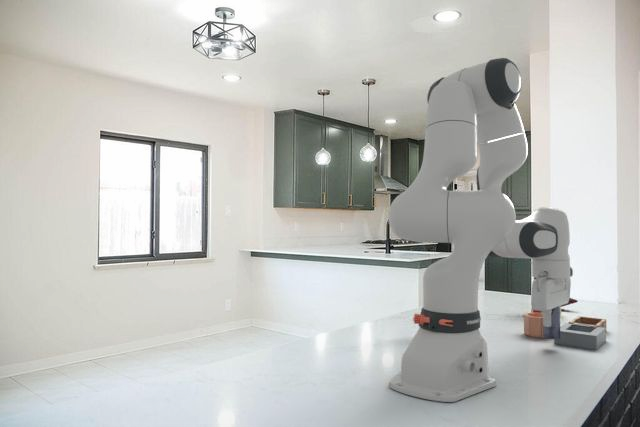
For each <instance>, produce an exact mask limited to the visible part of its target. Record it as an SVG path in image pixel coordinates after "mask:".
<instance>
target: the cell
mask: <svg viewBox="0 0 640 427" xmlns="http://www.w3.org/2000/svg"><path fill="white" fill-rule="evenodd" d="M551 319H552V326H551V327H546V326H544V325H543V337H544V338H543V339H548V340H554V339H560V326H561V316H560V306H559V307H556V308H554V309H552V313H551Z"/></svg>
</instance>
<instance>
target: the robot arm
mask: <svg viewBox="0 0 640 427" xmlns="http://www.w3.org/2000/svg"><path fill="white" fill-rule="evenodd" d="M522 84H523V83H522V77H521V74H520V70H519V69H518V66H517V65H516V64H515V63H514V62H513V61H512V60H511V59H509V58H507V57H497V58H494V59H490V60H488V61H486V62H482V63H479V64H475V65H473V66H469V67H464V68H461V69H460V70H457V71H455V72H453V73H451V74H449V75H448V76H445V77H441V78H439V79H438V80H436V81H435V82H433V83H432V84H431V86H430V87H429V90H428V93H427V98H426V100H427V108H426V115H425V125H424V127H425V129H424V148H423V156H422V162H421V167H420V169H419V172H418V174H417V175H416V177H415V179H414V180H413V181H412V183H411V184H410V185H409V186H408V187H407V189H405V190H404V191H403V192H401V193H400V194H399V195H396V197H395V198H394V199H393V200H392V202H391V204H390V206H389V210H388V215H387V216H388V224H389V228H390V230H391V231H392V233H393V234H394V235H395V236H396V237H397V238H398V239H401V240H405V241H408V242H409V241H410V242H415V243H429V244H430V243H434V244H435V243H438V244H439V243H443V244H445V243H446V244H448V243H449V244H452V245H453V251H452V253H451V254H449V255H448V256H446V257H443V258H441V259H439V260H436V261H435V262H433V263H431V264H430V265H428V266H427V268H426V269H425V271H424V273H423V277H422V282H423V283H422V286H423V288H422V289H423V290H422V292H423V293H422V294H423V295H422V297H423V298H422V299H423V300H422V303H423V305H422V306H423V307H421V310H420V313H414V314H413V317H412V321H413V323H414V324H415V325H416V324H417V325H418V326H419V327H418V329H417V331H416V333H415V335H414V336H413V338H412V339H411V340H410V343H409V345H408V346H407V347H406V349H405V350H404V352H403V355H402V358H401V363H400V364H401V366H400V371H399V372H398V373H397V374H396V375H395V376H394V377H393V378H391V379H390V380H389V381H388V387H389V388H391V389H392V390H394V391H396V392H398V393H401V394H405V395H407V396H411V397H415V398H420V399H424V400H429V401H433V402H434V401H435V402H442V403H443V402H444V403H445V402H446V403H455V402H457V401H460V400H462V399H466V398H468V397H470V396H473V395H475V394H478V393H481V392H484V391H487V390H489V389H491V388H494V387H496V386H497V384H496V383H497V381H496V380H495V378H493V377H491V376H490V372H489V371H490V369H489V358H488V357H489V356H488V344H487V341H486V340H485V339H484V337H483V336H482V334H481V332H480V328H481V321H482V320H481V317H482V316H481V312H480V310H479V309H478V306H479V305H478V304H479V302H478V301H479V298H478V296H479V295H478V294H479V281H480V274H481V271H482V267H483V265H484V262H485V261H486V259H487V257H490V258H493V259H507V258H508V259H509V258H510V259H531V262H532V263H531V273H532V274H531V276H532V277H533V278H534V277H537V278H536V279H535V280H534V279H533V280H532V284H531V300H530V301H531V302H530V306H531V308H532V309H533V310H537V311H541V314H542V317H543V325H544V326H546V327H551V326H552V319H551V313H552V309H554V308H556V307H559V306H560V310H561V311H562V307H561V306H562V305H565V304H567V303H568V302H569V298H571V297H570V296H571V288H572V287H571V286H572V285H571V283H572V282H571V281H572V280H571V279H572V278H573V275H574V270H573V268H572V267H571V259H570V254H569V247H570V242H571V241H570V240H571V239H570V238H571V237H570V224H569V218H568V215H567V213H566V212H565V211H564V210H563V209H560V208H556V207H549V206H548V207H545V206H544V207H543V206H542V207H537V208H535V209H534V212H533V213H532V214H531V215H529V216H527V217H525V218H522V219H520V220H519V219H518V220H516V219H517V217H516V216H517V214H516V210H515V209H516V208H515V207H514V204H513V202H512V200H511V199H510V198H509V197H508V195H506V194H504V193H502V186H503V184H504V182H505V181H506V179H507V178H509V176H512V174H514V173H516V172H517V171H518V170H519V169H520V168H521V167H522V166H523V165H524V163H525V161H526V160H527V157H528V153H529V152H528V151H529V148H528V147H529V146H528V140H527V137H526V133H525V129H524V124H523V122H522V119H521V116H520V112H519V110H518V108H517V105H516V101H517V100H518V98H519V96H520V93H521V91H522V86H523V85H522ZM478 149H479V150H478ZM478 152H479V164H478V165H479V166H478V167H477V170H476V189H475V190H473V189H472V190H448V187H449V186H450V184H451V183H452V182H454V180H456V179H458V178H460V177H462V176H464V175H467V173H469V172H471V170H473V168H474V167H475V166H476V164H477V161H478ZM571 277H572V278H571Z"/></svg>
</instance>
